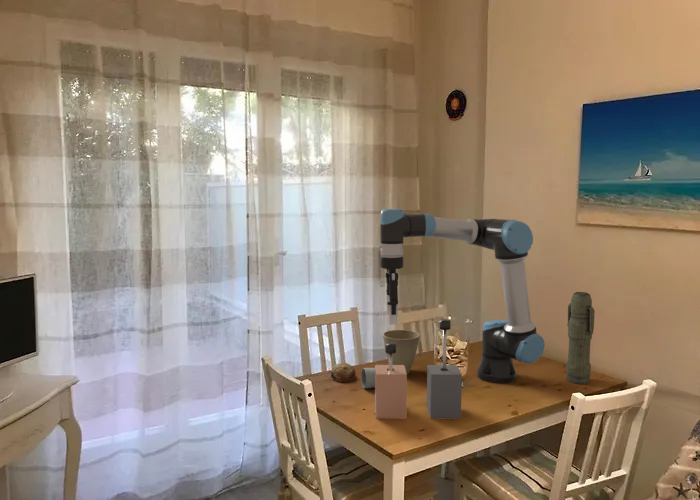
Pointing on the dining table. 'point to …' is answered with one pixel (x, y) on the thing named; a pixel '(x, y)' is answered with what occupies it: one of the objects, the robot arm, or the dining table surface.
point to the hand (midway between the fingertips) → (392, 319)
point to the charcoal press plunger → (444, 338)
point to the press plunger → (390, 352)
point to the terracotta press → (390, 391)
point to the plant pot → (402, 347)
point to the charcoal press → (444, 392)
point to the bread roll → (342, 372)
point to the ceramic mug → (368, 377)
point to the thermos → (579, 338)
